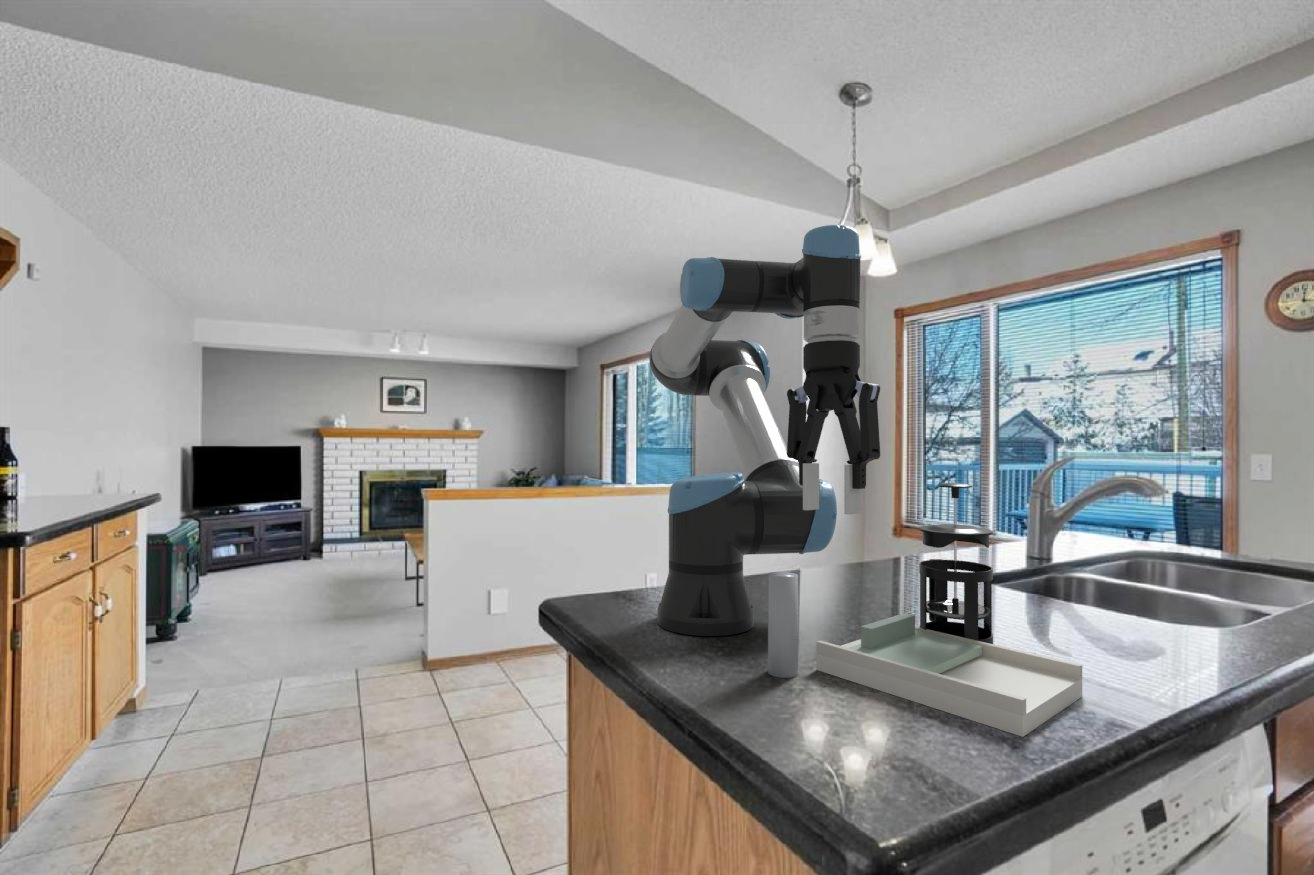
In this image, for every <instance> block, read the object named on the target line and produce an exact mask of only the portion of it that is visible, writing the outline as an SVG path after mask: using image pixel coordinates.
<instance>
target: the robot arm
mask: <svg viewBox="0 0 1314 875" xmlns="http://www.w3.org/2000/svg"><path fill="white" fill-rule="evenodd" d="M801 253H802V258H801V259H800V260H798V261H796V262H785V261H784V262H783V261H781V262H780V261H766V260H765V261H764V260H763V261H762V260H748V259H747V260H742V259H730V258H728V259H727V258H718V257H717V258H716V257H714V256H710V257H708V256H707V257H691V258H689V259H687V261H686V260H685V262H684V264H683V265H682V266H683V267H682V269H681V270H682V273H681V275H680V280H679V281H680V282H679V284H680V285H679V295H680V301H681V305H680V307H679V309H678V310H677V312H676V315H674V318H673V320H672V321H671V323H670V325H669V327H668V328H667V331H666V332H664V333H662V334H661V335H659V336H658V337H657V338H656V339H655V341H654V343H653V344H652V346H651V348H650V352H649V357H648V358H649V366H650V370H651V371H652V373H653V376H654V377H655V378H656V380H657V381H658V382H659V383H660V384H661V385H663V386H664V387H665V388H666V389H668V390H669V391H671V392H674V393H676V394H678V395H679V394H680V395H683V396H701V397H702V396H705V397H706V396H707V397H709V399H710V401H711V403H712V405H713V406H714V407H715V408H717V409H718V410H720V411H722V413H723V416H724V419H725V423H726V425H727V428H728V431H729V434H730V436H731V439H732V441H733V444H734V447H735V450H736V453H737V455H738V458H739V461H740V464H741V467H742V469H743V472H744V475H745V477H744V476H743V473H741V472H739V471H726V472H720V473H719V472H715V473H714V472H713V473H706V474H700V475H699V474H698V475H693V476H687V477H683V478H680V479H678V480H676V481H674V482H673V484H671V486H670V489H669V496H668V508H667V513H668V574H667V578H666V581H665V584H664V588H663V591H662V597H661V600H660V603H658V606H657V611H656V613H657V616H656V617H657V618H656V620H657V625H658V626H660V627H661V628H662V629H663V630H666V631H669V632H672V633H677V634H681V635H686V636H687V635H689V636H696V637H697V636H698V637H699V636H701V637H719V636H720V637H722V636H730V635H731V636H732V635H736V634H741V633H745V632H748V631H750V630H752V629H753V628H754V626H755V608H754V606H753V604H752V603H751V599H750V595H749V590H748V587H747V584H746V580H745V577H744V556H745V555H746V556H747V555H776V554H780V555H781V554H799V555H804V554H806V553H817V552H821V551H823V550H825V549H826V548H827V547H828V546H829V544H830V543H831V541H832V539H833V537H834V534H835V530H836V525H837V516H838V515H837V514H838V508H837V507H838V505H837V503H838V502H837V496H836V492H835V490H834V487H833V486H832V484H831V483H830V482H829V481H828V480H822V479H820V463H818V462H817V461H818V459H816V455H817V451H818V446H819V443H820V439H821V435H822V431H823V429H824V428H823V427H824V423H825V420H826V418H827V417H828V416H829V414H830V412H831V411H833V413H834V415H835V416H836V417H837V419H838V422H839V426H840V430H841V434H842V437H843V441H844V444H845V448H846V451H847V455H848V460H847V461H846V463H847V464H844V465H843V466H844V467H843V468H844V478H843V479H844V481H843V482H844V491H843V492H844V494H843V495H844V498H843V499H844V500H843V501H844V504H843V506H844V510H843V511H844V512H843V513H844V515H849V516H850V515H857V514H862V489H866V486H867V465H868V463H869V462H872V461H875V460H879V459H880V458H881V443H880V442H881V440H880V426H879V413H878V412H879V411H878V410H879V409H878V400H879V396H880V392H881V386H880V384H877V383H871V382H870V383H869V382H864V381H862V379H861V378H860V376H859V369H860V367H861V345H860V344H859V343H858V342H857V341H858V340H859V339H860V338H861V310H860V305H861V304H860V303H861V259H862V255H861V253H860V235H859V233H858V231H857V230H856V229H855V228H853V227H851V226H849V225H843V224H841V225H840V224H828V225H823V226H822V225H821V226H817V227H815V228H812V229H810V230H809V231H807V232H806V233H805V235H804V237H803V244H802V249H801ZM733 312H737V313H741V312H742V313H760V314H761V313H763V314H764V313H765V314H775V315H777V316H778V317H780V318H782V319H786V320H787V319H788V320H792V319H796V318H797V319H799V318H803V341H805V342H806V343H805V344H804V346H803V348H802V351H803V352H802V354H803V355H802V358H803V359H802V362H803V364H802V365H803V366H802V368H803V370H804V373H805V379H804V381H803V383H802V384H803V385H802V386H800V387H798V388H796V389H793V388H789V389H787V391H786V397H787V400H788V405H789V408H788V427H787V442H785V439H784V437H783V435H782V433H781V431H780V428H779V426H778V424H777V422H776V420H775V417H774V415H773V413H772V410H771V408H770V406H769V404H768V402H767V400H766V398H765V395H764V394H765V393H766V391H767V389H768V386H769V383H770V378H771V367H770V366H769V357H768V354H767V352H766V351H765V349H764V347H763V346H762V345H760V343H758V342H756V341H747V340H744V339H738V340H719V339H717V340H716V339H713V338H714V337H715V336H716V334H717V333H718V331H719V330H721V328H722V326H723V325H724V324H725V322H726V321H727V320H728V319H729V317H730V316H731V315H732V314H733ZM712 339H713V340H712ZM856 395H857V396H858V410H857V407H856V403H855V400H854V399H855V397H856ZM808 400H809V401H808ZM807 401H808V405H807ZM857 412H858V416H859V418H858V419H859V422H858V419H857ZM786 443H787V444H786Z"/></svg>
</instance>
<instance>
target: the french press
mask: <svg viewBox="0 0 1314 875" xmlns="http://www.w3.org/2000/svg"><path fill="white" fill-rule="evenodd" d="M937 486H938V487H939V488H950V492H951V499H953V523H952V524H951V523H945V524H942V523H941V524H931V525H930V524H929V525H921V526H919V531H920V532H922V544H923V545H924V546H927V547H930V548H931V547H932V548H937V549H939V548H945V547H947V546H948V545H951V544H953V559H941V558H930V559H928V560H921V561H920V562H919V564H918V565H919V566H918V567H919V568H918V569H919V570H918V573H919V627H920V628H923V629H924V630H927V629H929V630H933V631H937V632H942V633H946V634H950V635H955V636H959V637H964V638H968V639H972V640H977V641H981V642H985V643H990V644H994V634H993V632H992V631H993V630H992V626H993V625H992V622H993V619H992V616H993V614H992V613H993V611H992V610H993V609H992V605H993V604H992V603H993V602H992V596H993V595H992V594H993V593H992V591H993V590H992V580H994V567H992V566H991V565H987V564H985V563H982V562H981V563H979V562H973V561H968V560H958V558H957V557H958V546H957V545H958V542H960V543H961V542H964V543H972V544H978V545H982V546H984V547H985V548H986V549H989V548H990V536H992V535H993V534H994V531H993V530H991V529H988V528H983V527H977V526H974V525H966V524H958V523H957V522H958V520H957V519H958V515H957V514H958V513H957V512H958V509H957V508H958V505H957V504H958V501H957V500H958V499H959V498H960V489H967V488H968V489H970V488H973V485H971V484H968V483H961V482H946V483H941V484H939V485H937ZM927 578H928V581H927ZM927 582H928V584H927ZM948 582H951V583H952V582H953V597H952V599H948V598H949V597H948V595H949V594H948V587H949V586H948ZM958 583H963V600H960V599H959V598H958V587H957V586H958ZM979 583H983V605H981V604H979ZM927 586H928V590H927ZM927 591H928V592H927ZM927 594H928V597H927ZM927 598H929V599H928V600H927ZM927 614H928V615H927ZM927 616H928V619H929V621H927V620H928V619H927ZM948 619H951V620H961V621H963V622H958V621H949V620H948ZM980 620H983V627H981V626H979V621H980Z"/></svg>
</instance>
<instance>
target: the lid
mask: <svg viewBox="0 0 1314 875" xmlns="http://www.w3.org/2000/svg"><path fill="white" fill-rule="evenodd" d="M915 626H916V615H915V614H910V613H905V612H903V613H901V614H898V615H894V616H891V617H888V618H884V619H880V620H878V621H875V622H871V623H867V624H864V625H860V639H861V644H858V645H855V646H852V647H849V649H853V650H856V651H860V652H864V653H867V654H871V655H874V656H878V657H881V658H885V659H889V660H892V661H896V662H899V663H903V664H906V665H910V666H913V667H917V668H921V669H924V670H928V671H931V672H935V673H938V674H940V673H942V672H944V671H946V670H949V669H951V668H953V667H955V666H958V665H960V664H962V663H964V662H967V661H969V660H971V659H973V658H975V657H978V656H980V655H982V646H979V645H975V644H970V643H966V642H962V641H958V640H953V639H949V638H945V637H940V636H936V635H932V634H928V633H923V632H919V631H915Z"/></svg>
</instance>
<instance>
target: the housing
mask: <svg viewBox="0 0 1314 875" xmlns="http://www.w3.org/2000/svg"><path fill="white" fill-rule="evenodd" d="M915 631H919V632H923V633H928V634H932V635H936V636H940V637H945V638H949V639H953V640H958V641H962V642H966V643H970V644H975V645H979V646H982V655H980V656H978V657H975V658H973V659H971V660H969V661H967V662H964V663H962V664H960V665H958V666H955V667H953V668H951V669H949V670H946V671H944V672H942V673H940V674H938V673H935V672H931V671H928V670H924V669H921V668H917V667H913V666H910V665H906V664H903V663H899V662H896V661H892V660H889V659H885V658H881V657H878V656H874V655H871V654H867V653H864V652H860V651H856V650H853V649H849V647H852V646H855V645H858V644H861V638H860V639H857V640H854V641H851V642H848V643H845V644H842V645H838V644H834V643H832V642H827V641H825V640H817V641H816V646H815V648H816V655H815V656H816V657H815V658H816V659H815V660H816V664H815V665H816V667H815V668H816V671H819V672H822V673H825V674H827V675H828V674H829V675H831V676H835V677H837V678H841V679H843V680H847V681H849V682H852V683H856V684H859V685H862V686H865V687H868V688H870V689H874V690H877V691H880V692H884V693H886V694H889V695H893V696H896V697H899V698H902V699H906V700H908V701H912V702H914V703H917V704H920V705H924V706H927V707H929V708H932V709H936V710H939V711H943V712H945V713H947V714H951V715H955V716H958V717H961V718H963V719H967V720H969V721H973V722H975V723H976V722H977V723H978V724H982V725H985V726H989V727H991V728H995V729H997V730H1001V731H1004V732H1007V733H1009V734H1012V735H1016V736H1019V737H1022V738H1024V737H1026V736H1027V735H1028V734H1030V733H1031V732H1032V731H1034V730H1035V729H1037V728H1039V727H1040V726H1042V724H1044V723H1045V722H1047V721H1049V720H1050V719H1051V718H1052V717H1054V716H1056V715H1057V714H1059V713H1061V711H1063V710H1065V709H1066V708H1068V707H1069V706H1070V705H1072V704H1073V703H1075V702H1076V701H1078V700H1079V699H1080V698H1082V697H1083V664H1080V663H1076V662H1071V661H1067V660H1063V659H1058V658H1056V657H1050V656H1045V655H1042V654H1036V653H1032V652H1029V651H1024V650H1020V649H1014V648H1011V647H1008V646H1007V647H1006V646H1002V645H997V644H994V643H993V644H990V643H985V642H981V641H977V640H972V639H968V638H964V637H959V636H955V635H950V634H946V633H942V632H937V631H933V630H929V629H927V630H924V629H923V628H920V626H916V625H915Z"/></svg>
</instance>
